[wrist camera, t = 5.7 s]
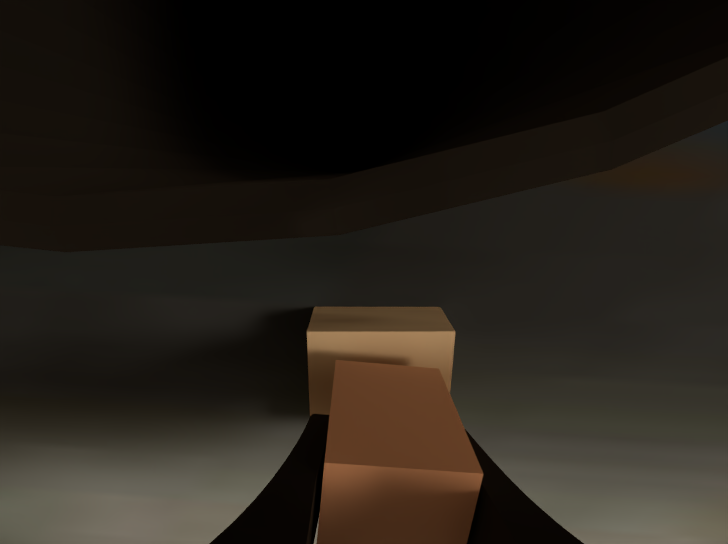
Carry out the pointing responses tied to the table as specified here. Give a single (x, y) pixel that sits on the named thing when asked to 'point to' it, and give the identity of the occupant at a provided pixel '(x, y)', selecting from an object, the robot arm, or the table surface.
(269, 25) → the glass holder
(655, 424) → the table surface
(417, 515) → the painted block
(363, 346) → the birch base
